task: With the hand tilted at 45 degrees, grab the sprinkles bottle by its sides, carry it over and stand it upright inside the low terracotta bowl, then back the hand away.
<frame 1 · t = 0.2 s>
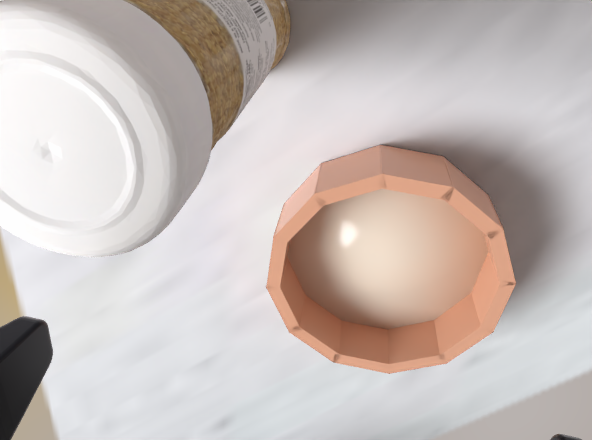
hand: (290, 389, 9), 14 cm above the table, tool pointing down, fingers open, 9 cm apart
sprinkles bottle: (238, 22, 20), on the table
terracotta bowl: (384, 247, 24), on the table
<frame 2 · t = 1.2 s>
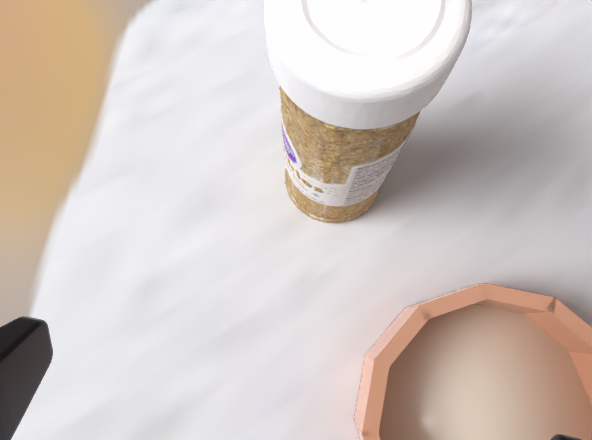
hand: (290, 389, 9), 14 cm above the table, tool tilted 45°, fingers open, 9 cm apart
sprinkles bottle: (333, 180, 24), on the table
terracotta bowl: (476, 412, 21), on the table
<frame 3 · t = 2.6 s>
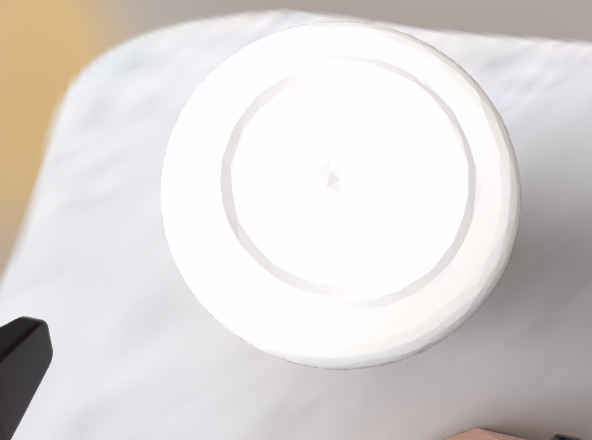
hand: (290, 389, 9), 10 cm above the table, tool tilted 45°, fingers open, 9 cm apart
sprinkles bottle: (316, 283, 19), on the table
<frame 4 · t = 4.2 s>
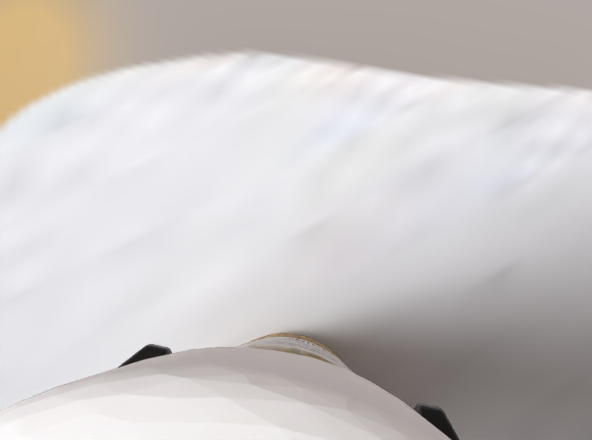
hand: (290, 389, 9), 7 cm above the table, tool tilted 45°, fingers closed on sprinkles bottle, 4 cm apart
sprinkles bottle: (287, 409, 15), on the table, touching gripper
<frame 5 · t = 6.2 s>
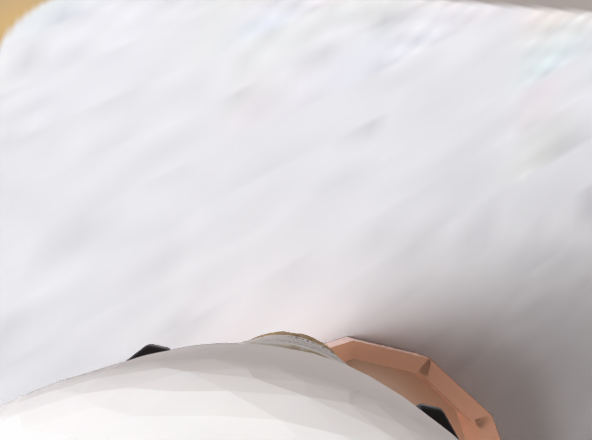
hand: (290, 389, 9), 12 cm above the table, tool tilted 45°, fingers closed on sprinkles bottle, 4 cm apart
sprinkles bottle: (286, 407, 15), point 5 cm above the table, touching gripper
when the fingers open (8 cm above the table, at t = 8.4 s): sprinkles bottle stays where it is, resting on terracotta bowl.
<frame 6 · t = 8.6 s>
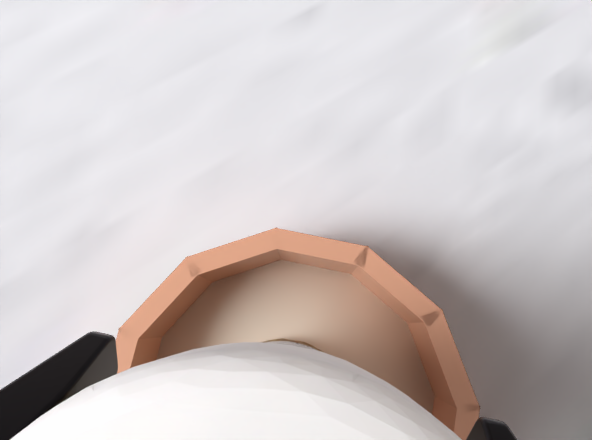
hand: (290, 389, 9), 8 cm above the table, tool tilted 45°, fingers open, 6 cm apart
sprinkles bottle: (285, 411, 16), resting on terracotta bowl
terracotta bowl: (288, 402, 16), on the table
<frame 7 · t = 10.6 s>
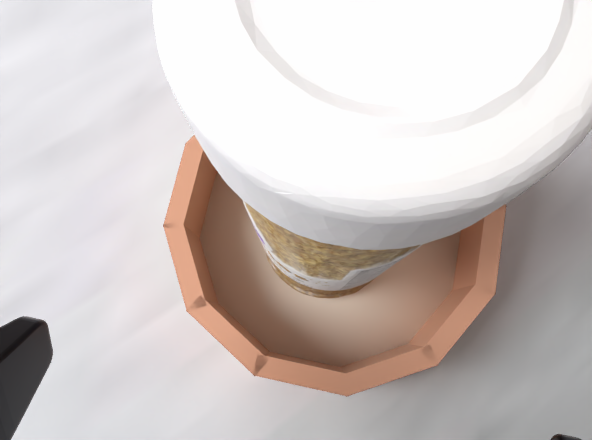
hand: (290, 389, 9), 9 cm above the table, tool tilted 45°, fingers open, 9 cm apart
sprinkles bottle: (327, 237, 18), resting on terracotta bowl
terracotta bowl: (329, 233, 18), on the table
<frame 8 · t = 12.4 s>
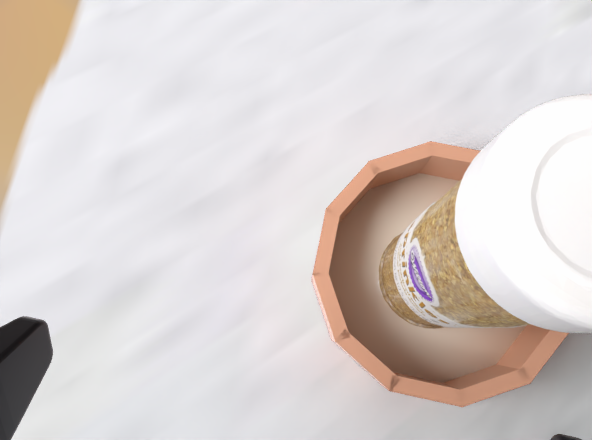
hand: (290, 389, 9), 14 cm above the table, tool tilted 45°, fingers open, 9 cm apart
sprinkles bottle: (427, 278, 22), resting on terracotta bowl
terracotta bowl: (427, 274, 23), on the table
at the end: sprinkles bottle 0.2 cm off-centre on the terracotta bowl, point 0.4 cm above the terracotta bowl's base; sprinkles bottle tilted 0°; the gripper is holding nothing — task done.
